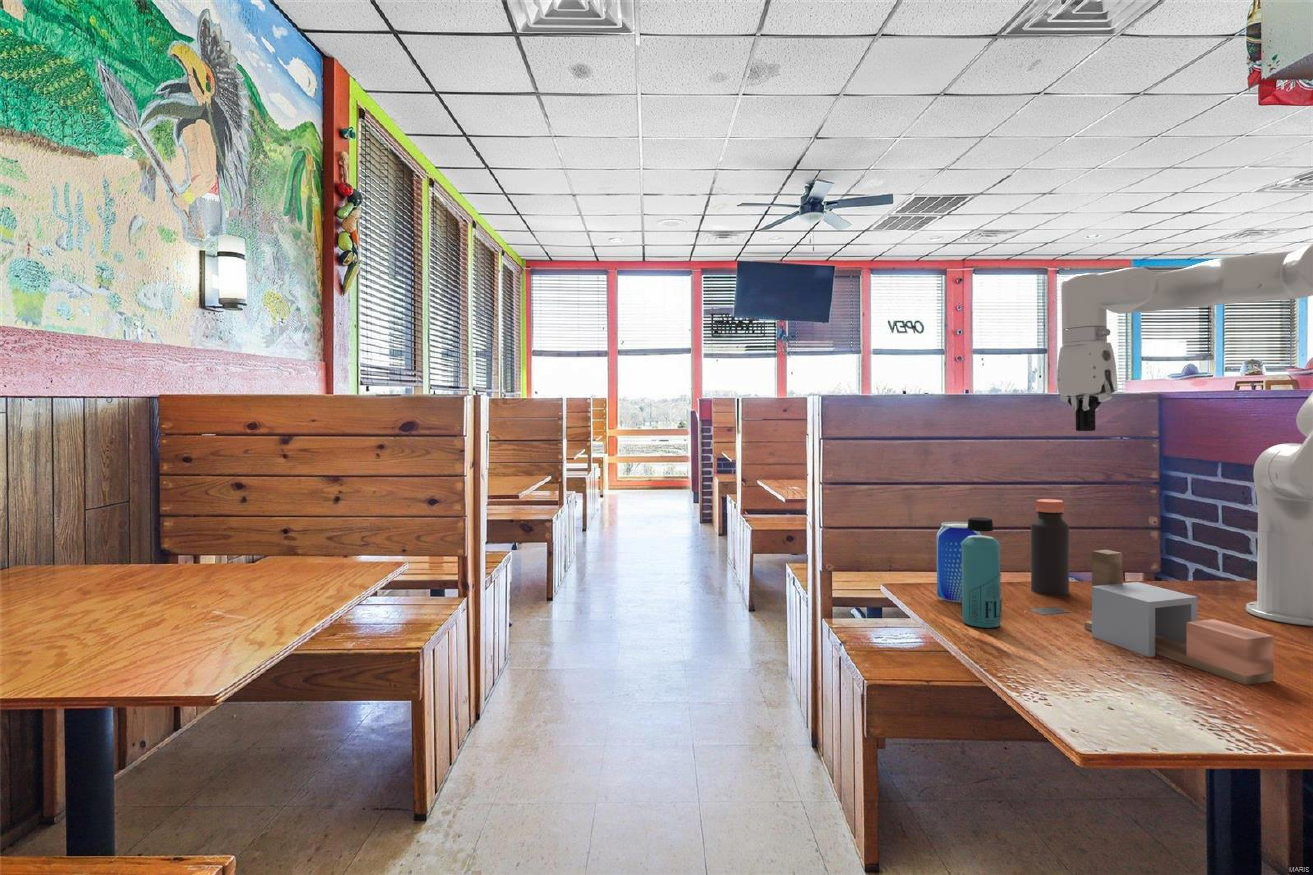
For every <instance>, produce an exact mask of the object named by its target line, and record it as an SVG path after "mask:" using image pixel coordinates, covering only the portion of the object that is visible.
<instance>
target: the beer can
mask: <svg viewBox="0 0 1313 875" xmlns="http://www.w3.org/2000/svg"><path fill="white" fill-rule="evenodd" d="M940 524H941V526H940V528H939V530H938V531H937V533H936V596H937V598H939V599H940V601H942V600H944V601H947V602H953V603H960V604H961V603H962V584H961V579H962V545H961V542H962V541H963V540H964V539H965V538H967V537H968V536H972V535H981V536H983V535H982V534H981V531H971V530H968V529H967V526H968V521H967V522H965V521H945V522H942V523H940Z"/></svg>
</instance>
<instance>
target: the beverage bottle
mask: <svg viewBox="0 0 1313 875" xmlns="http://www.w3.org/2000/svg"><path fill="white" fill-rule="evenodd" d="M967 519H968V520H967V522H968V526H967V529H968V530H971V531H979V532H985V533H986V532H993V531H994V526H993V525H994V524H993V519H992V518H989V517H984V516H983V517H982V516H981V517H980V516H978V517H977V516H974V517H969V518H967ZM981 535H982V534H981ZM981 535H972V536H968V537H967V538H965V539H964V540H963V541H962V542H961V545H962V579H961V584H962V603H960V605H961V606H960V607H961V615H960V616H961V618H962V622H964V623H965V624H966V625H969V626H973V627H977V628H997V627H999V626H1000V625H1001V623H1002V618H1003V614H1002V613H1003V611H1002V610H1003V608H1002V604H1003V603H1002V602H1003V600H1002V599H1003V598H1002V597H1001V596H1002V594H1001V593H1002V589H1001V588H1002V587H1001V584H1002V583H1001V580H1002V574H1001V571H1002V570H1001V569H1002V567H1001V566H1002V563H1001V562H1002V561H1001V544H1000V542H999V540H997V539H996V538H995V537H992V536H988V535H982V536H981Z"/></svg>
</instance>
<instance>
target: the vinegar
mask: <svg viewBox="0 0 1313 875" xmlns="http://www.w3.org/2000/svg"><path fill="white" fill-rule="evenodd" d="M1064 510H1065V508H1064V500H1061V499H1053V498H1052V499H1051V498H1042V499H1036V500H1035V511H1036V512H1035V513H1036V514H1037V518H1036V519H1035V520H1033V522H1031V524H1030V592H1033V593H1035V594H1039V595H1044V596H1049V597H1050V596H1052V597H1063V596H1068V595H1069V594H1070V525H1069V524H1068V523H1067V522H1066V521H1065V519H1063V515H1064Z"/></svg>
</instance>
